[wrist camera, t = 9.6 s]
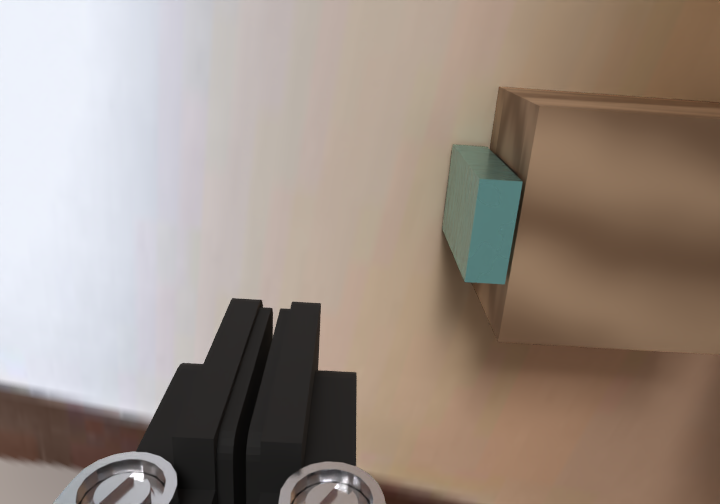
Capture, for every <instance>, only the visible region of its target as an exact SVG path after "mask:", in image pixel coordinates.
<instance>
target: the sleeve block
mask: <svg viewBox="0 0 720 504" xmlns="http://www.w3.org/2000/svg"><path fill="white" fill-rule="evenodd" d="M490 150H491V151H492V152H493V153H494V154H495V155H496V156H497V157H498V158H499V159H500V160H501V161H502V162H503V163H504V164H505V165H506V166H507V167H508V168H509V169H510V170H511V171H512V172H513V173H514V174H515V175H516V176H517V177H518V178H519V179H520V180H521V181H522V182H523V183H522V189H521V194H520V200H519V206H518V212H517V217H516V223H515V229H514V235H513V240H512V246H511V252H510V258H509V263H508V269H507V275H506V281H505V284H489V283H472V285H473V287H474V289H475V291H476V294H477V296H478V298H479V300H480V303H481V305H482V307H483V309H484V312H485V314H486V316H487V318H488V321H489V323H490V325H491V327H492V330H493V332H494V334H495V336H496V339H497V341H498V342H503V343H520V344H538V345H555V346H572V347H590V348H607V349H624V350H642V351H659V352H676V353H693V354H711V355H720V103H717V102H703V101H690V100H676V99H662V98H648V97H635V96H621V95H607V94H593V93H579V92H566V91H552V90H538V89H524V88H511V87H499V91H498V98H497V104H496V111H495V117H494V124H493V131H492V137H491V144H490Z"/></svg>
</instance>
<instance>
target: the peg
mask: <svg viewBox="0 0 720 504" xmlns="http://www.w3.org/2000/svg"><path fill="white" fill-rule="evenodd" d="M522 183H523V182H522V181H521V180H520V179H519V178H518V177H517V176H516V175H515V174H514V173H513V172H512V171H511V170H510V169H509V168H508V167H507V166H506V165H505V164H504V163H503V162H502V161H501V160H500V159H499V158H498V157H497V156H496V155H495V154H494V153H493V152H492V151H491V150H490V149H489V148H488V147H483V146H468V145H454V144H453V148H452V156H451V163H450V171H449V179H448V187H447V195H446V203H445V210H444V218H443V226H442V229H443V232H444V234H445V236H446V239H447V241H448V244H449V246H450V248H451V251H452V253H453V256H454V258H455V260H456V263H457V265H458V268H459V270H460V272H461V275H462V277H463V280H464V282H472V283H489V284H505V281H506V275H507V269H508V263H509V258H510V252H511V246H512V240H513V235H514V229H515V223H516V217H517V212H518V206H519V200H520V194H521V189H522Z"/></svg>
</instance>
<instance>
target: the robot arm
mask: <svg viewBox="0 0 720 504" xmlns="http://www.w3.org/2000/svg"><path fill="white" fill-rule="evenodd" d="M320 313H321V303H305V302H292V305H291V309H280V312H279V316H278V320H277V324H276V328H275V331H274V335H273V310H272V308H263V304H262V300H252V299H235V298H232V300H231V302H230V304H229V306H228V309H227V311H226V313H225V316H224V318H223V320H222V322H221V325H220V327H219V329H218V332H217V334H216V336H215V339H214V341H213V343H212V346H211V348H210V350H209V352H208V355H207V357H206V359H205V362H204V364H191V363H182V364H180V366H179V367H178V369H177V371H176V373H175V375H174V377H173V379H172V381H171V383H170V385H169V387H168V389H167V391H166V393H165V395H164V397H163V399H162V401H161V403H160V405H159V407H158V409H157V411H156V413H155V415H154V417H153V419H152V421H151V423H150V425H149V427H148V429H147V431H146V433H145V435H144V437H143V439H142V441H141V443H140V445H139V447H138V449H137V451H136V452H127V453H120V454H114V455H112V456H109V457H106V458H103V459H101V460H98V461H96V462H95V463H93V464H91V465H90V466H88V467H86V468H85V469H83V470H82V471H81V472H80V473H79V474H78V475H77V476H76V477H75V478H74V479H73V480H72V481H71V482H70V483H69V484H68V486H67V487H66V488H65V489H64V490H63V492H62V493H61V494H60V495H59V497H58V498H57V499H56V500H55V501H54V503H53V504H386V502H385V498H384V495H383V493H382V490H381V488H380V486H379V484H378V483H377V482H376V481H375V480H374V479H373V477H372V476H371V475H370V474H368V473H367V472H365V471H363V470H362V469H360V468H358V467H356V372H338V371H319V370H318V358H319V335H320Z"/></svg>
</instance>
